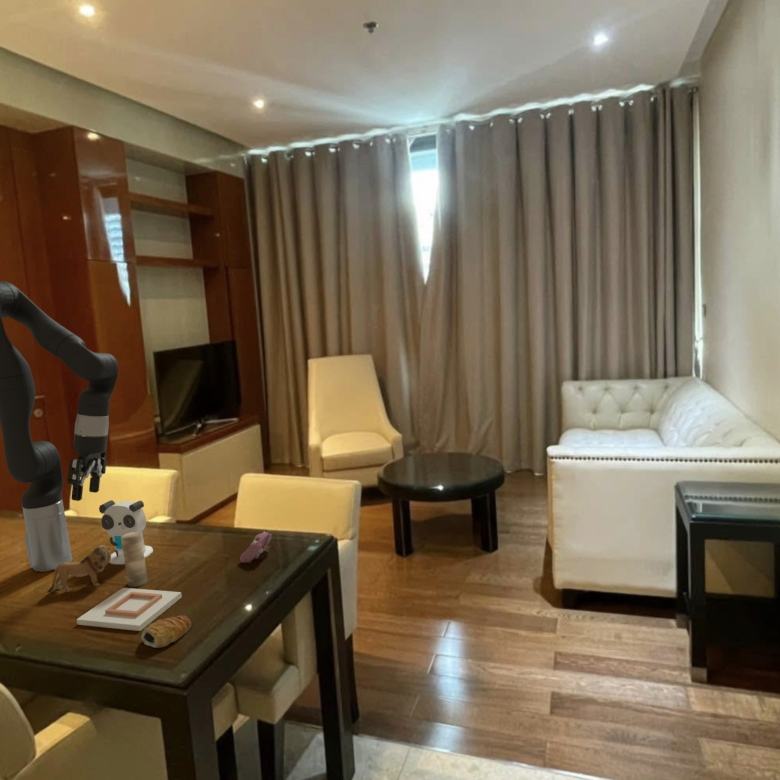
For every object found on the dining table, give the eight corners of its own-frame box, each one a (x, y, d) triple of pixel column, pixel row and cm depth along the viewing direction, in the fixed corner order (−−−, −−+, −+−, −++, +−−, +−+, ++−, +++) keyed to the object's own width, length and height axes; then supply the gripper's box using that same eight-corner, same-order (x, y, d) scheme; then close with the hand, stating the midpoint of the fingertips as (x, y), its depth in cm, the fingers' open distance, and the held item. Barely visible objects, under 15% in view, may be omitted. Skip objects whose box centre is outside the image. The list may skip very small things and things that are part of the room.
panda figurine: (96, 563, 159) (87, 509, 156) (125, 545, 169) (117, 494, 167) (134, 565, 155) (126, 510, 153) (161, 547, 166) (154, 495, 164)
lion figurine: (114, 574, 151) (109, 540, 150) (115, 582, 146) (109, 547, 145) (48, 590, 145) (42, 555, 143) (46, 599, 140) (40, 563, 139)
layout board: (77, 624, 127) (76, 615, 127) (123, 592, 140) (122, 584, 140) (140, 630, 123) (139, 621, 122) (181, 597, 136) (180, 588, 136)
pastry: (179, 621, 126) (176, 604, 125) (199, 629, 122) (197, 612, 121) (138, 643, 118) (136, 626, 118) (159, 653, 114) (156, 635, 114)
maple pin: (124, 586, 144) (116, 539, 142) (136, 577, 148) (129, 531, 146) (139, 587, 142) (132, 539, 141) (151, 578, 147) (144, 532, 145)
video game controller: (253, 569, 151) (262, 546, 149) (237, 561, 151) (246, 538, 150) (268, 553, 160) (277, 531, 159) (253, 545, 161) (262, 523, 159)
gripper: (90, 427, 156) (84, 488, 157) (60, 434, 142) (54, 501, 143) (119, 430, 156) (113, 491, 157) (92, 438, 142) (85, 505, 143)
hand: (85, 496), depth 150 cm, fingers open, 8 cm apart
